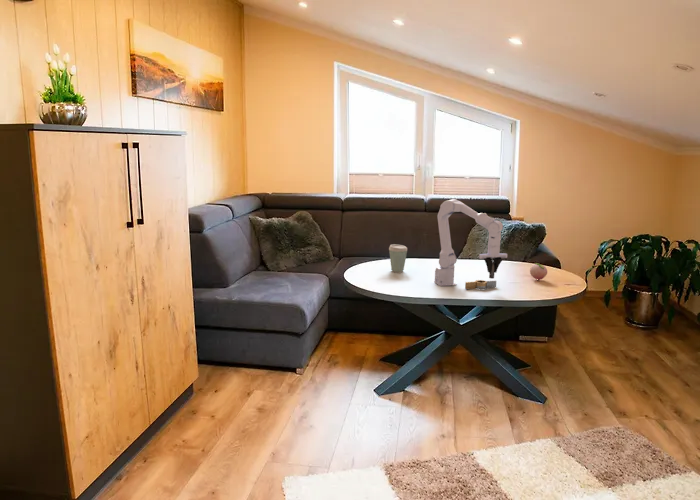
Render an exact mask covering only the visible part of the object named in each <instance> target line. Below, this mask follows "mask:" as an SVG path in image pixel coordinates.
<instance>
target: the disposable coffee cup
mask: <svg viewBox="0 0 700 500" xmlns="http://www.w3.org/2000/svg"><path fill="white" fill-rule="evenodd" d="M388 251H389V261H390V269H391V272H392V273H397V274H398V273H400V274H401V273H403V271H404V270H405V263H406V259H407V253H408V247H407V246H405V245H403V244H395V243H393V244H390V245H389V247H388Z"/></svg>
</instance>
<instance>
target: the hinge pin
mask: <svg viewBox="0 0 700 500" xmlns="http://www.w3.org/2000/svg"><path fill="white" fill-rule="evenodd" d="M488 274H489V275H488V276H489V277H488V278H489V279H495V262H492V267H491V273H489V272H488Z"/></svg>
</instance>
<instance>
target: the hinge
mask: <svg viewBox="0 0 700 500" xmlns="http://www.w3.org/2000/svg"><path fill="white" fill-rule="evenodd" d="M464 286H465V287H464V289H465V290H473V289H474V290H479V289H480V291H481V290H482V291H484V290H487V289H494V288H495V287H496V288H497V280H483V279H476V280H475V281H465V284H464Z"/></svg>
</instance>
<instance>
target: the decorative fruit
mask: <svg viewBox="0 0 700 500" xmlns="http://www.w3.org/2000/svg"><path fill="white" fill-rule="evenodd" d="M540 263H541V262H539V263H537V262H535V263H534V264H533V265H532V266H530V269H529V274H530V275H531V277H532V278H534V279H536V280H537V279H538V280H537V281H540V280H542V279H544V278H545V277H547V275H548V269H547V267H546V266H545V265H543V264H540Z"/></svg>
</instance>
